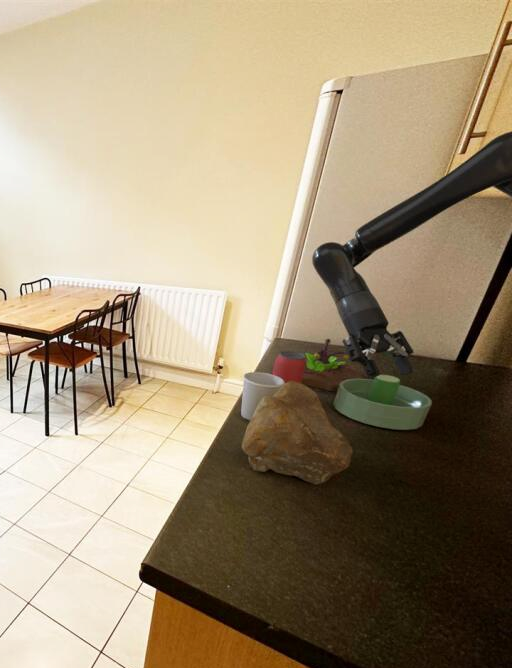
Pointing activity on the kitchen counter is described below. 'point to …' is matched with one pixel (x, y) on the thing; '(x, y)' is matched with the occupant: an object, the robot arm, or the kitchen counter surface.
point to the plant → (327, 370)
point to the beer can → (290, 366)
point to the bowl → (382, 405)
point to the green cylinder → (384, 389)
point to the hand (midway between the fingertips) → (391, 375)
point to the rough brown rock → (295, 436)
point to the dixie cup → (258, 390)
